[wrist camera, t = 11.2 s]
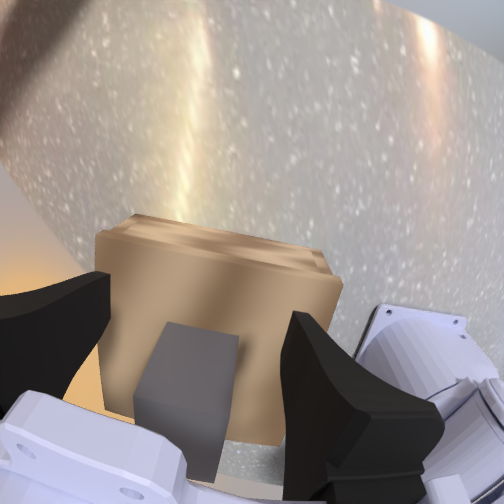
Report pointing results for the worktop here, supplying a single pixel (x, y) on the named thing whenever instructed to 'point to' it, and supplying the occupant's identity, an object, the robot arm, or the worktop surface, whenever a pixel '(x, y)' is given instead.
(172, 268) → the wooden tan block
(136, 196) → the worktop surface
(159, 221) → the box
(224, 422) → the grey upright cuboid
